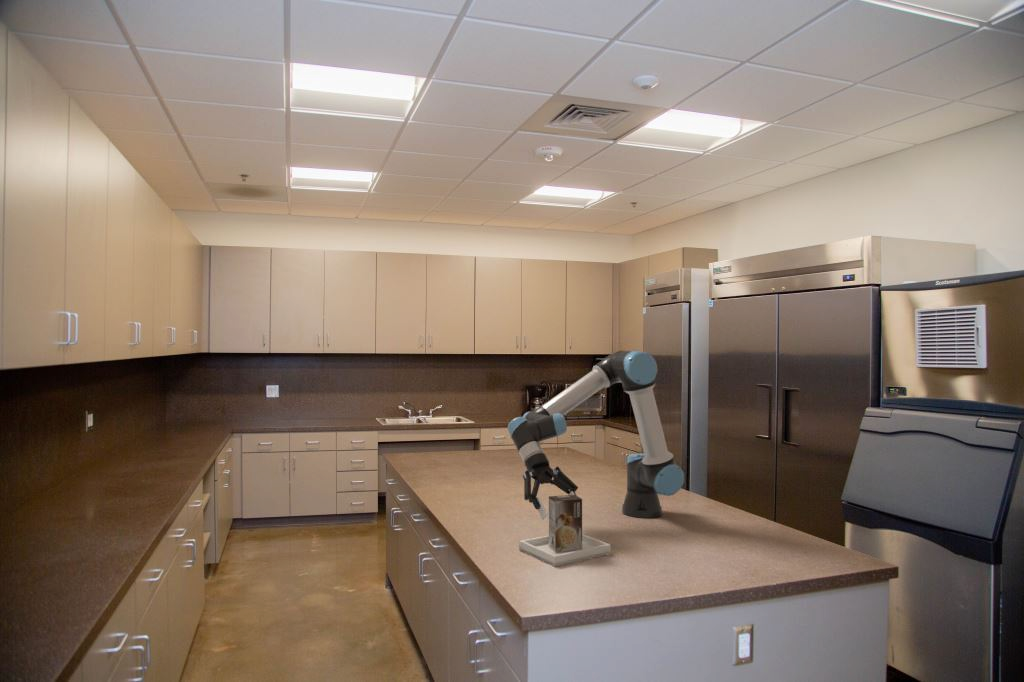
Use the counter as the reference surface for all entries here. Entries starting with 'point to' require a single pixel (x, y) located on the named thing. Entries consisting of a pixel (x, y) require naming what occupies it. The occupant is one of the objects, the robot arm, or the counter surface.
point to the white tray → (545, 553)
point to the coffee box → (565, 523)
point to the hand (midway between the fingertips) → (562, 514)
